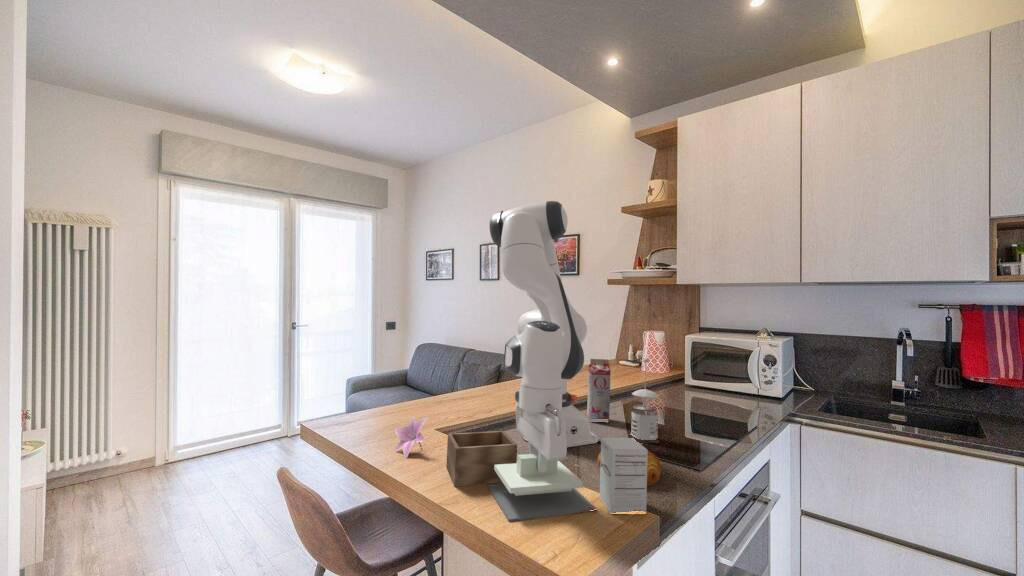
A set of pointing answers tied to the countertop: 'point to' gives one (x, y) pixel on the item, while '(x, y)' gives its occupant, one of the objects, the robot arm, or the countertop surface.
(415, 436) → the lily
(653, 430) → the french press
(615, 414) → the countertop surface
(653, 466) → the croissant
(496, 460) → the box
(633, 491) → the supplement box
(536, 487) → the lid
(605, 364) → the juice carton
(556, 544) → the countertop surface
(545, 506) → the mat
